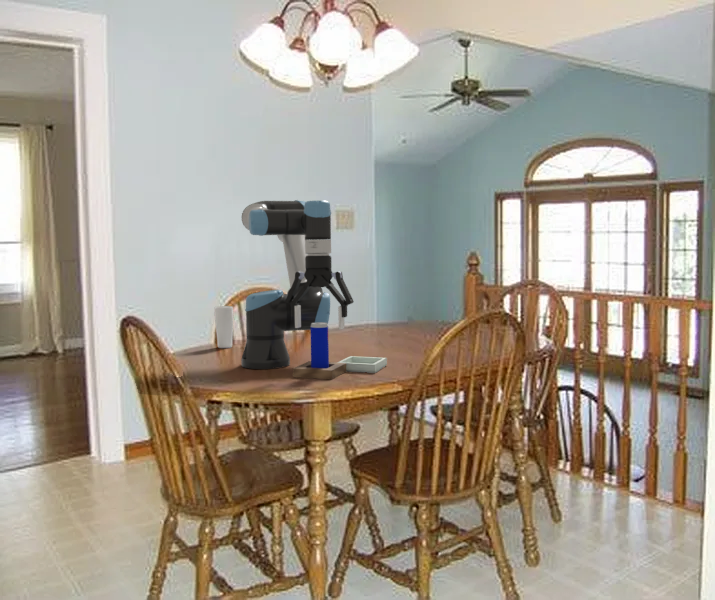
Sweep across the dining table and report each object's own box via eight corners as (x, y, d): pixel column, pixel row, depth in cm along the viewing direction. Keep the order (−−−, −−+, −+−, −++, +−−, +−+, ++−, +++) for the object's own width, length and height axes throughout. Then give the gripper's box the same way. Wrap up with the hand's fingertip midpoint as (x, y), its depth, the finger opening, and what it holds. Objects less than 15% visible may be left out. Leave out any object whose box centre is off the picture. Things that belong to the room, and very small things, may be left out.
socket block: (292, 377, 200) (292, 368, 200) (309, 369, 211) (308, 361, 211) (331, 379, 196) (331, 370, 196) (346, 371, 207) (346, 363, 207)
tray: (336, 370, 208) (336, 362, 208) (350, 364, 220) (350, 356, 219) (375, 373, 204) (375, 364, 204) (386, 365, 216) (386, 357, 215)
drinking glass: (214, 346, 259) (213, 306, 257) (232, 345, 261) (231, 305, 259) (216, 349, 252) (215, 308, 251) (235, 348, 254) (234, 307, 253)
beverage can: (332, 374, 203) (331, 323, 202) (317, 376, 200) (316, 324, 199) (322, 371, 207) (322, 321, 206) (307, 373, 204) (307, 323, 203)
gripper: (273, 255, 201) (274, 328, 203) (354, 254, 193) (356, 330, 194) (284, 255, 208) (285, 325, 210) (363, 254, 200) (364, 327, 202)
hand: (319, 328), depth 202 cm, fingers open, 13 cm apart
